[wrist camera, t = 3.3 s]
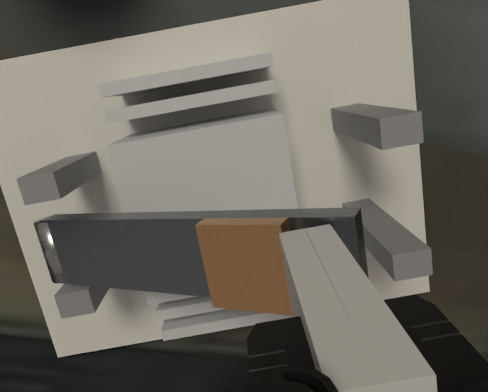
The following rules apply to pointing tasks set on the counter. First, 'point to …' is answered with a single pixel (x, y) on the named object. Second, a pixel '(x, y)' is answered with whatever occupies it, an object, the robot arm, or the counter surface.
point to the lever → (190, 251)
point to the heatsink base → (303, 96)
